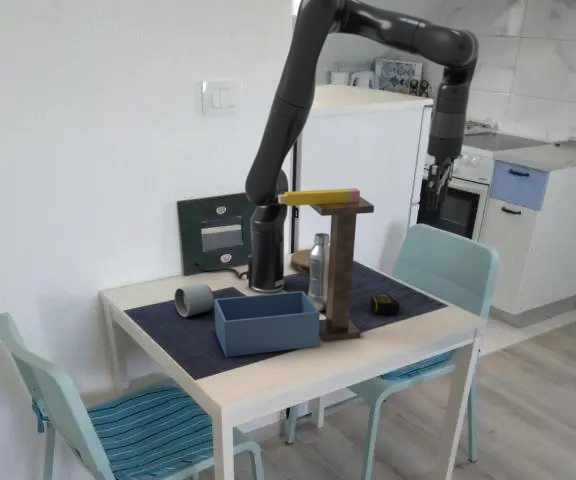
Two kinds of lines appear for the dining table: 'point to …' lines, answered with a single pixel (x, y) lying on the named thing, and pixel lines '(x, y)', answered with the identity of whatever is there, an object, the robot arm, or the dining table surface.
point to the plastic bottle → (319, 271)
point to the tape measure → (384, 304)
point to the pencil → (319, 197)
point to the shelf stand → (340, 267)
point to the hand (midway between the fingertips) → (435, 205)
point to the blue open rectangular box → (266, 323)
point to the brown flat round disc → (301, 262)
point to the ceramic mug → (194, 299)
